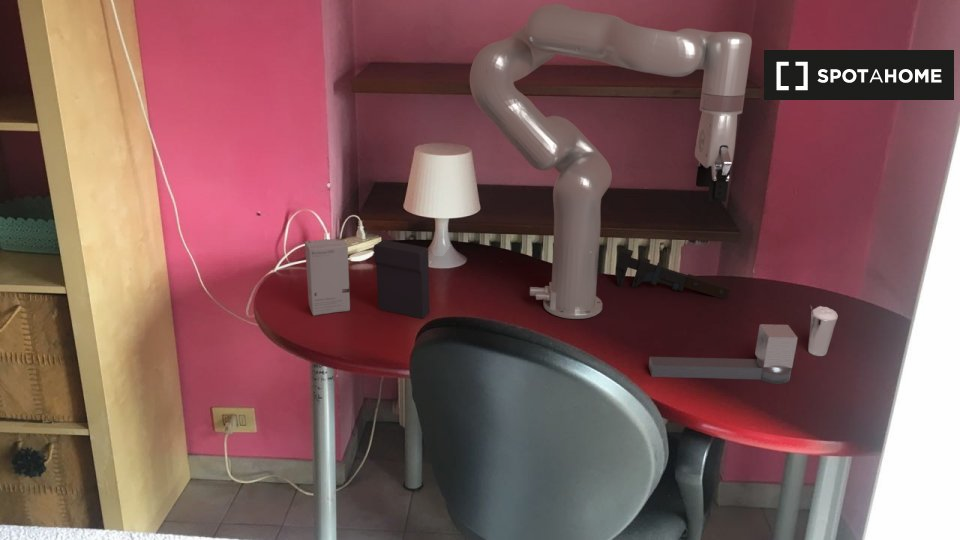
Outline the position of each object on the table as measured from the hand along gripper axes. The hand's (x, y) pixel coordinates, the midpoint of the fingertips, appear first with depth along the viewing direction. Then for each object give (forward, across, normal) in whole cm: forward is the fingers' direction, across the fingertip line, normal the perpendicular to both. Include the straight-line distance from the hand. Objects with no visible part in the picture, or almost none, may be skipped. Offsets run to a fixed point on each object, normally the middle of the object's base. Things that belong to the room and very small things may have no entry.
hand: (710, 193), depth 144 cm
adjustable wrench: (+29, -18, -1) cm, 34 cm away
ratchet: (+28, +19, 0) cm, 34 cm away
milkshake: (+28, +10, +21) cm, 37 cm away
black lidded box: (+29, -4, -60) cm, 67 cm away
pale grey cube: (+25, +19, +10) cm, 33 cm away
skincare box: (+29, -5, -76) cm, 81 cm away
